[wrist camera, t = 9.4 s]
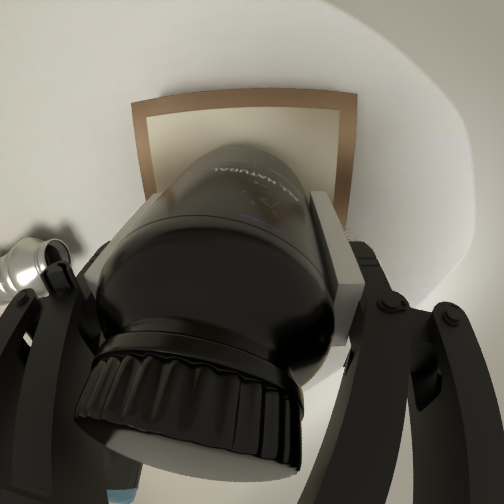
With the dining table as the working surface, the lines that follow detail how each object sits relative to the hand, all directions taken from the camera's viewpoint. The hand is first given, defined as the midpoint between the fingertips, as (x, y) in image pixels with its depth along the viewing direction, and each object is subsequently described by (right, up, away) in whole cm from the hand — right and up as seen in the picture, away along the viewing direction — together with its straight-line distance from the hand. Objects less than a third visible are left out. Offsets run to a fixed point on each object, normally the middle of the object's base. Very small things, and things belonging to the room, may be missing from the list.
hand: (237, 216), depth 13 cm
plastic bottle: (-36, -6, +11) cm, 38 cm away
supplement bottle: (0, +1, +1) cm, 1 cm away
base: (0, +4, +5) cm, 6 cm away
